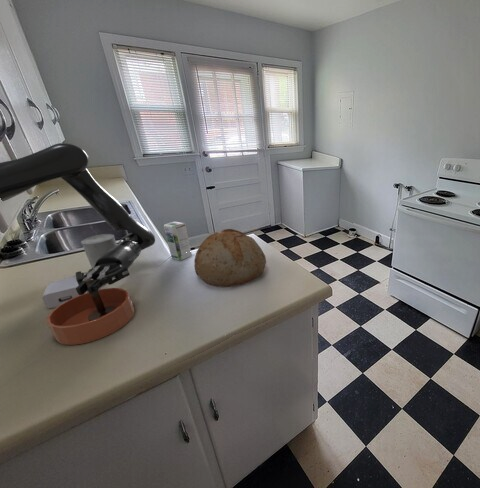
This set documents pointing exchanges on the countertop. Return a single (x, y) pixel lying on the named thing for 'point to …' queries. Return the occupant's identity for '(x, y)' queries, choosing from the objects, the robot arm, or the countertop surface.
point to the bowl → (80, 307)
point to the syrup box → (177, 240)
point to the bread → (229, 259)
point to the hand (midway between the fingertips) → (84, 291)
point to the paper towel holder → (98, 304)
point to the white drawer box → (60, 291)
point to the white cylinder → (98, 246)
